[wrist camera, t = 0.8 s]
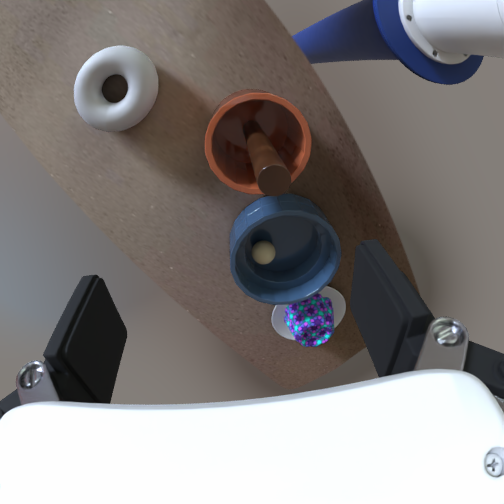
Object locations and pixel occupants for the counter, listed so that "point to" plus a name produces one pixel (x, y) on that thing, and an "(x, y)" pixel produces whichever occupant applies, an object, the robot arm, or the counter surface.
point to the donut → (138, 95)
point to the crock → (234, 144)
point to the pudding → (310, 318)
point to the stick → (266, 161)
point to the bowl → (284, 250)
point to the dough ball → (263, 252)
